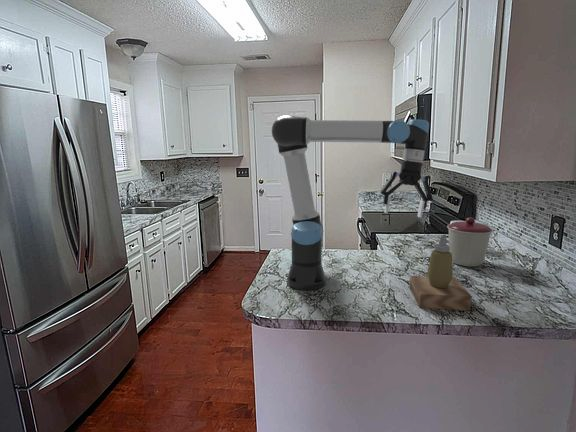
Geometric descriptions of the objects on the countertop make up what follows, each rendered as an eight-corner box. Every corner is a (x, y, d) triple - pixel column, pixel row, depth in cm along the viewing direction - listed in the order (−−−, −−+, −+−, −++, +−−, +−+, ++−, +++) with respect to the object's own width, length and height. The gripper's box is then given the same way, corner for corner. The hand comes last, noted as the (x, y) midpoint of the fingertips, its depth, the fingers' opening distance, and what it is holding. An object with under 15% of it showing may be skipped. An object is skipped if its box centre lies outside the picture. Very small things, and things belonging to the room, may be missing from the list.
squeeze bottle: (452, 283, 125) (457, 234, 121) (450, 291, 118) (455, 239, 114) (427, 279, 128) (431, 231, 124) (425, 287, 121) (429, 237, 117)
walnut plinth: (419, 307, 117) (420, 293, 116) (409, 288, 133) (410, 275, 132) (470, 310, 115) (471, 296, 114) (453, 290, 131) (455, 277, 130)
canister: (497, 265, 156) (502, 218, 152) (474, 273, 147) (479, 224, 142) (458, 254, 171) (463, 211, 167) (435, 261, 162) (439, 216, 157)
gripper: (383, 156, 132) (374, 212, 135) (448, 165, 133) (437, 220, 136) (378, 157, 139) (369, 209, 143) (439, 165, 140) (429, 217, 143)
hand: (402, 215), depth 139 cm, fingers open, 13 cm apart
